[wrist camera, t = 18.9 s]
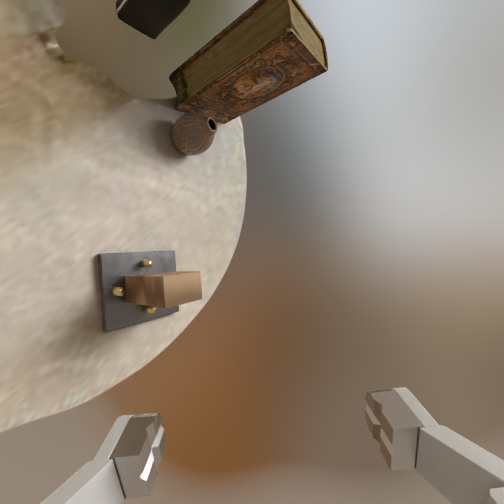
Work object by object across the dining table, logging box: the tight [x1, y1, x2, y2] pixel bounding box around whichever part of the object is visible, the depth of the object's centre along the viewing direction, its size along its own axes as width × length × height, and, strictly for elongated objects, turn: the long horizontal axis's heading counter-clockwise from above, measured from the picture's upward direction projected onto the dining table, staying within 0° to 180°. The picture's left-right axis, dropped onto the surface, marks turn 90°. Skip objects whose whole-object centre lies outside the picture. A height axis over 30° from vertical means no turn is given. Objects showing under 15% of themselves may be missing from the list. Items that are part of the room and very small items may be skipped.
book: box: [169, 0, 328, 123], centre depth 44 cm, size 16×6×25 cm, turn 109°
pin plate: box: [98, 251, 179, 332], centre depth 38 cm, size 11×12×3 cm
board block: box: [125, 271, 202, 308], centre depth 35 cm, size 4×6×10 cm, turn 97°
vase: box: [172, 113, 217, 155], centre depth 44 cm, size 7×7×9 cm
